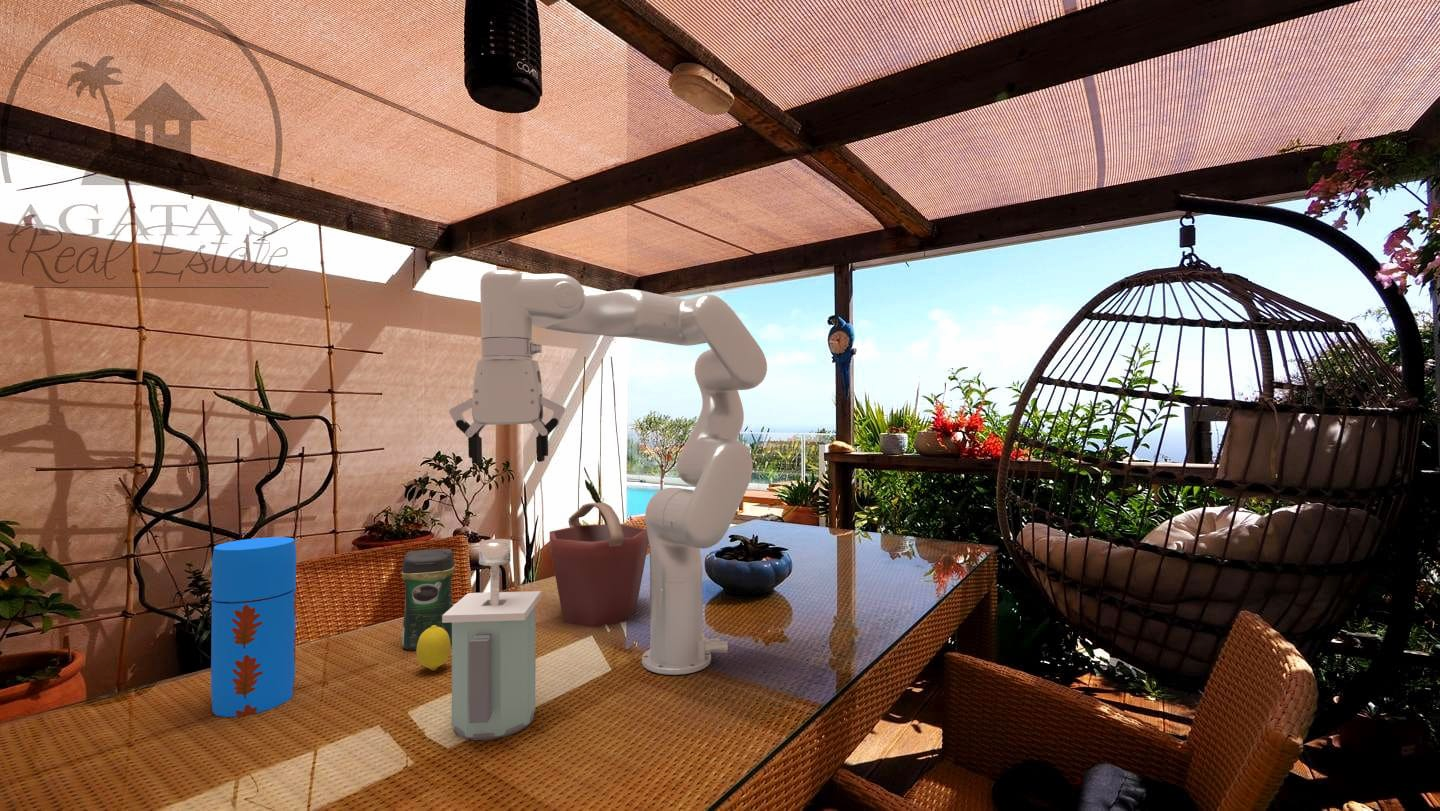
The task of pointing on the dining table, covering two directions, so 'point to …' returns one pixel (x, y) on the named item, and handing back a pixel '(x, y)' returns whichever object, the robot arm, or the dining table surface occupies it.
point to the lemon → (433, 647)
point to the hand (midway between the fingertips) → (509, 461)
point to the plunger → (494, 562)
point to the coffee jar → (426, 592)
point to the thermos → (253, 625)
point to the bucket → (598, 568)
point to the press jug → (493, 664)
